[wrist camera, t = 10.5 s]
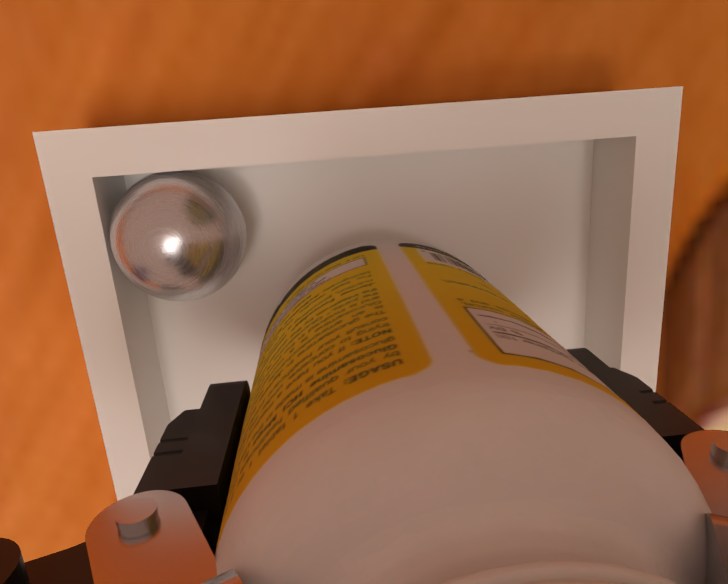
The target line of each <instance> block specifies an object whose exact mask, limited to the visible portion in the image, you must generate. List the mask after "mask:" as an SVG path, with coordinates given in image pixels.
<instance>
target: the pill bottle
mask: <svg viewBox="0 0 728 584" xmlns="http://www.w3.org/2000/svg"><path fill="white" fill-rule="evenodd" d="M705 513H711V514H712V512H711V510H710V508H709V506H708V504H707V502H706V500H705V498H704V496H703V494H702V492H701V490H700V488H699V486H698V484H697V482H696V481H695V479H694V478H693V476H692V475H691V473H690V472H689V470H688V469H687V467H686V466H685V464H684V463H683V461H682V460H681V458H680V457H679V456H678V455H677V454H676V453H675V452H674V450H673V449H672V448H671V447H670V446H669V445H668V443H667V442H666V441H665V440H664V439H663V438H662V437H661V436H660V435H659V434H658V433H657V432H656V431H655V430H654V429H653V428H652V427H651V426H650V425H649V424H648V423H647V422H646V421H645V420H644V419H643V418H642V417H641V416H640V415H639V414H638V413H637V412H636V411H635V410H633V409H632V408H631V407H630V406H629V405H628V404H627V403H626V402H625V401H624V400H622V399H621V398H620V397H618V396H617V395H616V394H615V393H614V392H613V391H612V390H611V389H610V388H608V387H607V386H606V385H605V384H604V383H603V382H602V381H601V380H599V379H598V378H597V377H596V376H595V375H594V374H593V373H591V372H590V371H589V370H588V369H587V368H586V367H585V366H583V365H582V364H581V363H580V362H579V361H578V360H577V359H576V358H575V357H573V356H572V355H571V354H570V353H569V352H568V351H567V350H566V349H565V348H564V347H563V346H561V345H560V344H559V343H558V342H556V341H555V340H554V339H553V338H552V337H551V336H550V335H548V334H547V333H546V332H545V331H544V330H543V329H542V328H541V327H540V326H538V325H537V324H536V323H535V322H534V321H533V320H532V319H531V318H530V317H529V316H528V315H526V314H525V313H524V312H523V311H522V310H521V309H519V308H518V307H517V306H516V305H515V304H514V303H513V302H512V301H511V300H509V299H508V298H507V297H506V296H505V295H504V294H503V293H502V292H501V291H499V290H498V289H497V288H496V287H494V286H493V285H492V284H490V283H489V282H488V281H487V280H486V279H485V278H484V277H483V276H481V275H480V274H479V273H478V272H476V271H475V270H474V269H473V268H471V267H470V266H469V265H467V264H466V263H465V262H463V261H462V260H460V259H459V258H457V257H455V256H454V255H452V254H450V253H448V252H446V251H444V250H441V249H439V248H436V247H433V246H431V245H427V244H423V243H419V242H415V241H408V240H396V239H386V240H374V241H368V242H362V243H358V244H355V245H351V246H348V247H346V248H343V249H340V250H338V251H336V252H334V253H332V254H330V255H327V256H325V257H324V258H322V259H320V260H319V261H317V262H316V263H315V264H313V265H312V266H311V267H309V268H308V269H307V270H305V271H304V272H303V273H302V274H301V275H300V276H299V277H298V278H297V279H296V280H295V281H294V282H293V283H292V285H291V286H290V287H289V288H288V289H287V291H286V292H285V293H284V295H283V296H282V298H281V299H280V301H279V303H278V304H277V306H276V308H275V310H274V312H273V314H272V316H271V318H270V320H269V323H268V325H267V328H266V332H265V336H264V339H263V342H262V346H261V350H260V355H259V360H258V364H257V369H256V373H255V377H254V381H253V386H252V390H251V394H250V399H249V403H248V407H247V411H246V415H245V419H244V423H243V428H242V432H241V438H240V442H239V446H238V450H237V455H236V459H235V464H234V468H233V473H232V478H231V483H230V487H229V492H228V497H227V501H226V506H225V510H224V514H223V519H222V523H221V528H220V532H219V537H218V542H217V546H216V551H215V558H216V569H217V576H218V575H220V574H222V573H224V572H226V571H229V570H231V569H233V570H234V571H235V572H236V573H237V574H238V576H239V578H240V579H241V581H242V583H243V584H705V580H706V553H707V540H706V517H705Z"/></svg>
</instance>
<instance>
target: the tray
mask: <svg viewBox="0 0 728 584" xmlns="http://www.w3.org/2000/svg"><path fill="white" fill-rule="evenodd" d="M682 94H683V86H677V87H663V88H649V89H634V90H620V91H606V92H592V93H578V94H564V95H550V96H536V97H521V98H507V99H493V100H479V101H465V102H451V103H437V104H423V105H408V106H394V107H380V108H366V109H352V110H338V111H324V112H310V113H295V114H281V115H267V116H253V117H239V118H225V119H211V120H197V121H182V122H168V123H154V124H140V125H126V126H112V127H98V128H84V129H69V130H55V131H41V132H32V133H33V138H34V142H35V146H36V150H37V155H38V159H39V163H40V168H41V172H42V176H43V181H44V185H45V189H46V194H47V198H48V202H49V207H50V211H51V215H52V220H53V224H54V228H55V233H56V237H57V241H58V245H59V250H60V254H61V258H62V263H63V267H64V271H65V276H66V280H67V284H68V289H69V293H70V297H71V302H72V306H73V310H74V315H75V319H76V323H77V328H78V332H79V336H80V340H81V345H82V349H83V353H84V358H85V362H86V366H87V371H88V375H89V379H90V384H91V388H92V392H93V397H94V401H95V405H96V410H97V414H98V418H99V423H100V427H101V431H102V435H103V440H104V444H105V448H106V453H107V457H108V461H109V466H110V470H111V474H112V479H113V483H114V487H115V492H116V496H117V500H118V501H119V500H121V499H123V498H126V497H128V496H131V495H133V494H134V492H135V490H136V488H137V486H138V484H139V482H140V480H141V478H142V476H143V474H144V472H145V470H146V467H147V465H148V463H149V461H150V459H151V457H152V456H154V451H155V449H156V447H157V445H158V443H160V439H161V437H162V435H163V433H164V431H165V429H166V427H167V425H168V424H169V423H170V422H171V421H173V420H174V419H175V418H176V417H177V416H179V415H180V414H181V413H182V412H183V411H185V410H192V409H200V407H201V405H202V402H203V400H204V398H205V395H206V393H207V390H208V388H209V386H210V384H215V383H225V382H235V381H245V380H247V381H248V384H249V387H250V392H251V390H252V386H253V381H254V377H255V373H256V369H257V364H258V360H259V355H260V350H261V346H262V342H263V339H264V336H265V332H266V328H267V325H268V323H269V320H270V318H271V316H272V314H273V312H274V310H275V308H276V306H277V304H278V303H279V301H280V299H281V298H282V296H283V295H284V293H285V292H286V291H287V289H288V288H289V287H290V286H291V285H292V283H293V282H294V281H295V280H296V279H297V278H298V277H299V276H300V275H301V274H302V273H303V272H304V271H305V270H307V269H308V268H309V267H311V266H312V265H313V264H315V263H316V262H317V261H319V260H320V259H322V258H324V257H325V256H327V255H330V254H332V253H334V252H336V251H338V250H340V249H343V248H346V247H348V246H351V245H355V244H358V243H362V242H368V241H374V240H386V239H396V240H408V241H415V242H419V243H423V244H427V245H431V246H433V247H436V248H439V249H441V250H444V251H446V252H448V253H450V254H452V255H454V256H455V257H457V258H459V259H460V260H462V261H463V262H465V263H466V264H467V265H469V266H470V267H471V268H473V269H474V270H475V271H476V272H478V273H479V274H480V275H481V276H483V277H484V278H485V279H486V280H487V281H488V282H489V283H490V284H492V285H493V286H494V287H496V288H497V289H498V290H499V291H501V292H502V293H503V294H504V295H505V296H506V297H507V298H508V299H509V300H511V301H512V302H513V303H514V304H515V305H516V306H517V307H518V308H519V309H521V310H522V311H523V312H524V313H525V314H526V315H528V316H529V317H530V318H531V319H532V320H533V321H534V322H535V323H536V324H537V325H538V326H540V327H541V328H542V329H543V330H544V331H545V332H546V333H547V334H548V335H550V336H551V337H552V338H553V339H554V340H555V341H556V342H558V343H559V344H560V345H561V346H563V347H564V348H565V349H575V348H586V349H588V350H589V351H590V352H592V353H593V354H594V355H595V356H597V357H598V358H599V359H600V360H601V361H603V362H604V363H605V364H606V365H608V366H609V367H610V368H613V367H614V368H616V369H619V370H621V371H623V372H626V373H628V374H631V375H633V376H635V377H637V378H639V379H640V380H641V381H642V382H644V383H645V384H646V385H648V386H649V387H650V388H651V389H653V392H656V383H657V372H658V361H659V349H660V338H661V327H662V316H663V305H664V294H665V283H666V272H667V261H668V250H669V238H670V227H671V216H672V205H673V194H674V183H675V172H676V161H677V150H678V139H679V128H680V116H681V105H682ZM171 171H191V172H195V173H198V174H201V175H203V176H206V177H208V178H210V179H212V180H214V181H215V182H216V183H218V184H219V185H221V186H222V187H223V188H224V189H225V190H226V191H227V192H228V193H229V194H230V195H231V196H232V197H233V198H234V200H235V201H236V203H237V205H238V206H239V208H240V210H241V212H242V215H243V217H244V220H245V225H246V230H247V245H246V250H245V255H244V258H243V261H242V263H241V265H240V267H239V269H238V271H237V272H236V274H235V275H234V276H233V278H232V279H231V280H230V281H229V282H228V283H227V284H226V285H225V286H223V287H222V288H221V289H220V290H218V291H216V292H215V293H213V294H211V295H208V296H206V297H204V298H201V299H197V300H192V301H180V302H178V301H168V300H163V299H159V298H156V297H153V296H151V295H149V294H147V293H145V292H143V291H142V290H140V289H139V288H137V287H136V286H135V285H133V284H132V283H131V282H130V281H129V280H128V279H127V278H126V277H125V276H124V274H123V273H122V272H121V270H120V269H119V267H118V265H117V264H116V262H115V259H114V257H113V254H112V251H111V247H110V240H109V227H110V220H111V217H112V213H113V211H114V209H115V206H116V204H117V203H118V201H119V200H120V198H121V197H122V195H123V194H124V193H125V192H126V191H127V190H128V189H129V188H130V187H131V186H132V185H133V184H134V183H136V182H138V181H139V180H141V179H142V178H144V177H147V176H149V175H151V174H154V173H158V172H171Z"/></svg>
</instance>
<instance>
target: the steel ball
mask: <svg viewBox="0 0 728 584" xmlns="http://www.w3.org/2000/svg"><path fill="white" fill-rule="evenodd" d="M109 240H110V247H111V251H112V254H113V257H114V259H115V262H116V264H117V265H118V267H119V269H120V270H121V272H122V273H123V274H124V276H125V277H126V278H127V279H128V280H129V281H130V282H131V283H132V284H133V285H135V286H136V287H137V288H139V289H140V290H142V291H143V292H145V293H147V294H149V295H151V296H153V297H156V298H159V299H163V300H168V301H178V302H180V301H192V300H197V299H201V298H204V297H206V296H208V295H211V294H213V293H215V292H216V291H218V290H220V289H221V288H222V287H223V286H225V285H226V284H227V283H228V282H229V281H230V280H231V279H232V278H233V276H234V275H235V274H236V272H237V271H238V269H239V267H240V265H241V263H242V261H243V258H244V255H245V250H246V245H247V230H246V225H245V220H244V217H243V215H242V212H241V210H240V208H239V206H238V205H237V203H236V201H235V200H234V198H233V197H232V196H231V195H230V194H229V193H228V192H227V191H226V190H225V189H224V188H223V187H222V186H221V185H219V184H218V183H216V182H215V181H214V180H212V179H210V178H208V177H206V176H203V175H201V174H198V173H195V172H191V171H171V172H158V173H154V174H151V175H149V176H147V177H144V178H142V179H141V180H139V181H138V182H136V183H134V184H133V185H132V186H131V187H130V188H129V189H128V190H127V191H126V192H125V193H124V194H123V195H122V197H121V198H120V200H119V201H118V203H117V204H116V206H115V209H114V211H113V213H112V217H111V220H110V227H109Z"/></svg>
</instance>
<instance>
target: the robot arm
mask: <svg viewBox="0 0 728 584" xmlns="http://www.w3.org/2000/svg"><path fill="white" fill-rule="evenodd" d="M566 350H567V351H568V352H569V353H570V354H571V355H572V356H573V357H575V358H576V359H577V360H578V361H579V362H580V363H581V364H582V365H583V366H585V367H586V368H587V369H588V370H589V371H590V372H591V373H593V374H594V375H595V376H596V377H597V378H598V379H599V380H601V381H602V382H603V383H604V384H605V385H606V386H607V387H608V388H610V389H611V390H612V391H613V392H614V393H615V394H616V395H617V396H618V397H620V398H621V399H622V400H624V401H625V402H626V403H627V404H628V405H629V406H630V407H631V408H632V409H633V410H635V411H636V412H637V413H638V414H639V415H640V416H641V417H642V418H643V419H644V420H645V421H646V422H647V423H648V424H649V425H650V426H651V427H652V428H653V429H654V430H655V431H656V432H657V433H658V434H659V435H660V436H661V437H662V438H663V439H664V440H665V441H666V442H667V443H668V445H669V446H670V447H671V448H672V449H673V450H674V452H675V453H676V454H677V455H678V456H679V457H680V458H681V460H682V461H683V463H684V464H685V466H686V467H687V469H688V470H689V472H690V473H691V475H692V476H693V478H694V479H695V481H696V482H697V484H698V486H699V488H700V490H701V492H702V494H703V496H704V498H705V500H706V502H707V504H708V506H709V508H710V510H711V512H712V514H711V513H705V517H706V540H707V553H706V580H705V584H728V431H722V430H704V429H703V428H701V427H700V426H699V425H698V424H696V423H695V422H694V421H693V420H691V419H690V418H689V417H687V416H686V415H685V414H684V413H682V412H681V411H680V410H678V409H677V408H676V407H675V406H673V405H672V404H671V403H667V402H666V399H664V398H663V397H662V396H660V395H659V394H658V393H657V392H653V389H651V388H650V387H649V386H648V385H646V384H645V383H644V382H642V381H641V380H640V379H639V378H637V377H635V376H633V375H631V374H628V373H626V372H623V371H621V370H619V369H616V368H614V367H613V368H610V367H609V366H608V365H606V364H605V363H604V362H603V361H601V360H600V359H599V358H598V357H597V356H595V355H594V354H593V353H592V352H590V351H589V350H588V349H586V348H575V349H566ZM250 394H251V392H250V387H249V384H248V381H247V380H245V381H235V382H225V383H215V384H210V386H209V388H208V390H207V393H206V395H205V398H204V400H203V402H202V405H201V407H200V409H192V410H185V411H183V412H182V413H181V414H180V415H179V416H177V417H176V418H175V419H174V420H173V421H171V422H170V423H169V424H168V425H167V427H166V429H165V431H164V433H163V435H162V437H161V439H160V443H158V445H157V447H156V449H155V451H154V456H152V457H151V459H150V461H149V463H148V465H147V467H146V470H145V472H144V474H143V476H142V478H141V480H140V482H139V484H138V486H137V488H136V490H135V492H134V494H133V495H131V496H128V497H126V498H123V499H121V500H119V501H117V502H115V503H113V504H112V505H110V506H109V507H107V508H106V509H104V510H103V511H102V512H100V513H99V514H98V515H97V516H96V517H95V518H94V520H93V521H92V522H91V523H90V525H89V527H88V529H87V531H86V535H85V540H86V542H84V543H81V544H79V545H77V546H74V547H71V548H69V549H66V550H63V551H59V552H56V553H53V554H50V555H47V556H44V557H41V558H38V559H35V560H32V561H28V562H25V563H24V560H23V557H22V554H21V550H20V548H19V546H18V545H17V544H16V543H15V542H14V541H12V540H9V539H5V538H0V584H243V583H242V581H241V579H240V578H239V576H238V574H237V573H236V572H235V571H234V570H233V569H231V570H229V571H226V572H224V573H222V574H220V575H218V576H217V569H216V558H215V551H216V546H217V542H218V537H219V532H220V528H221V523H222V519H223V514H224V510H225V506H226V501H227V497H228V492H229V487H230V483H231V478H232V473H233V468H234V464H235V459H236V455H237V450H238V446H239V442H240V438H241V432H242V428H243V423H244V419H245V415H246V411H247V407H248V403H249V399H250Z"/></svg>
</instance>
